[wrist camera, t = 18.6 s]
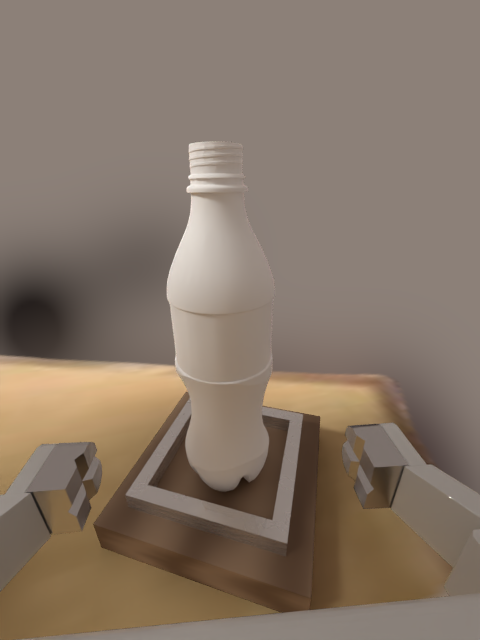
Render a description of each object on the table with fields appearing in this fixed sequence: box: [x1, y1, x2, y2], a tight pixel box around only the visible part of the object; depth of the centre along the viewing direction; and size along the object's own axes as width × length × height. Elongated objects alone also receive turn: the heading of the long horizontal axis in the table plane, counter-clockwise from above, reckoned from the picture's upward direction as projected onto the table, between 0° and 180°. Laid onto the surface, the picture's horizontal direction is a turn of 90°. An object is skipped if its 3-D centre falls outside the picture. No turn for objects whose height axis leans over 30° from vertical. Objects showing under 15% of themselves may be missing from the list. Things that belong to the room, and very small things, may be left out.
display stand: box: [93, 392, 320, 613], centre depth 27 cm, size 16×16×4 cm
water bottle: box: [167, 141, 275, 492], centre depth 21 cm, size 7×7×25 cm
